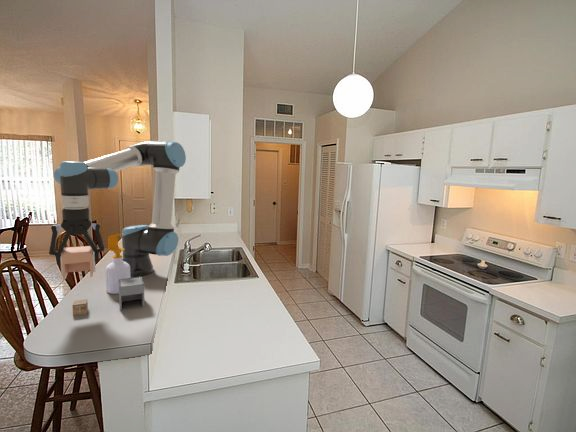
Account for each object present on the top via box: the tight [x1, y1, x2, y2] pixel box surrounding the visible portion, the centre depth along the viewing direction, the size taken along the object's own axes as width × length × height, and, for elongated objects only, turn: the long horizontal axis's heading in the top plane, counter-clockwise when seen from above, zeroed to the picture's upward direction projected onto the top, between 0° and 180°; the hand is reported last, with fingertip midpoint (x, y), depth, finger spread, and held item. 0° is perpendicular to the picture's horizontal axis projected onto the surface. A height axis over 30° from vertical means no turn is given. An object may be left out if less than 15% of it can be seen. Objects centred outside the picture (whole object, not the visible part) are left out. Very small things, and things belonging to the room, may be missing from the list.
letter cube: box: [72, 298, 89, 316], centre depth 109 cm, size 4×4×4 cm
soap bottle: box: [104, 232, 132, 295], centre depth 128 cm, size 9×9×25 cm
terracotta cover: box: [61, 245, 94, 281], centre depth 106 cm, size 8×8×9 cm
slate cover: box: [118, 276, 145, 311], centre depth 117 cm, size 8×8×9 cm
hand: (79, 272), depth 107 cm, fingers closed on terracotta cover, 8 cm apart
